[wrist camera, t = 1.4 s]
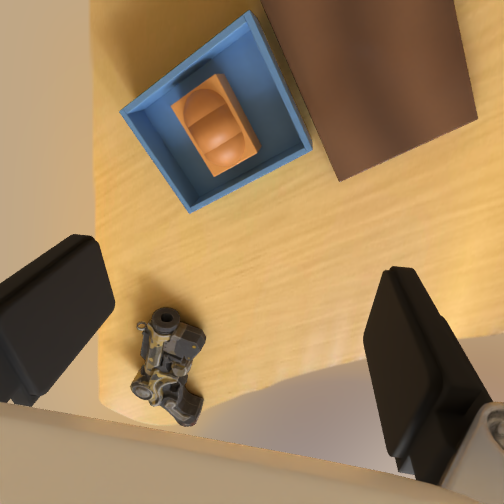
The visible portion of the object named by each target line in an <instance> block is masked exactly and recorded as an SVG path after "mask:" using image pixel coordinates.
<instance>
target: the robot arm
mask: <svg viewBox="0 0 504 504" xmlns="http://www.w3.org/2000/svg"><path fill="white" fill-rule="evenodd" d="M114 308H115V299H114V296H113V292H112V289H111V285H110V281H109V278H108V274H107V271H106V267H105V264H104V260H103V257H102V253H101V249H100V246H99V243H98V242H97V241H95V239H94V238H93V237H92V236H88V235H78V234H73V235H70V236H69V237H67V238H66V239H64V240H63V241H61V242H60V243H59V244H57V245H56V246H54V247H53V248H51V249H50V250H48V251H47V252H46V253H44V254H42V255H41V256H40V257H38V258H37V259H35V260H34V261H33V262H31V263H29V264H28V265H26V266H25V267H24V268H22V269H21V270H19V271H18V272H16V273H15V274H13V275H12V276H11V277H9V278H8V279H6V280H5V281H3V282H2V283H0V504H504V402H493V401H492V399H491V397H490V396H489V394H488V392H487V390H486V389H485V387H484V385H483V383H482V382H481V380H480V378H479V377H478V375H477V373H476V371H475V370H474V368H473V366H472V364H471V363H470V361H469V359H468V357H467V356H466V354H465V352H464V351H463V349H462V347H461V345H460V344H459V342H458V340H457V338H456V337H455V335H454V333H453V332H452V330H451V328H450V326H449V325H448V323H447V321H446V320H445V319H444V317H443V316H441V315H440V314H439V312H438V310H437V308H436V307H435V305H434V303H433V301H432V300H431V298H430V296H429V294H428V293H427V291H426V289H425V287H424V286H423V284H422V282H421V280H420V278H419V277H418V275H417V273H416V271H415V270H414V269H413V268H406V267H396V266H392V267H391V268H390V270H385V271H384V272H383V274H382V277H381V280H380V283H379V286H378V290H377V293H376V296H375V299H374V302H373V306H372V309H371V312H370V315H369V318H368V322H367V325H366V328H365V331H364V336H363V344H364V349H365V353H366V358H367V362H368V367H369V371H370V376H371V380H372V385H373V389H374V394H375V399H376V403H377V408H378V412H379V417H380V421H381V426H382V430H383V435H384V439H385V444H386V448H387V452H388V454H389V455H390V456H391V457H395V459H396V463H397V468H398V472H401V473H407V474H412V475H415V478H416V480H414V479H410V478H406V477H402V476H398V475H394V474H390V473H386V472H381V471H375V470H371V469H366V468H361V467H356V466H351V465H346V464H341V463H336V462H331V461H326V460H321V459H316V458H311V457H306V456H301V455H295V454H290V453H284V452H279V451H273V450H268V449H262V448H257V447H252V446H246V445H241V444H235V443H230V442H224V441H219V440H213V439H208V438H202V437H197V436H191V435H186V434H180V433H175V432H169V431H163V430H158V429H152V428H147V427H141V426H135V425H130V424H124V423H118V422H113V421H107V420H101V419H96V418H90V417H85V416H79V415H73V414H67V413H62V412H56V411H50V410H44V409H38V408H33V407H32V406H33V404H34V403H35V402H36V401H37V400H38V398H39V397H40V396H42V395H44V394H46V393H47V392H48V391H49V389H50V388H51V387H52V386H53V385H54V383H55V382H56V381H57V379H58V378H59V377H60V376H61V375H62V373H63V372H64V371H65V370H66V368H67V367H68V366H69V365H70V364H71V362H72V361H73V360H74V359H75V357H76V356H77V355H78V354H79V352H80V351H81V350H82V349H83V347H84V346H85V345H86V344H87V343H88V341H89V340H90V339H91V338H92V336H93V335H94V334H95V333H96V331H97V330H98V329H99V328H100V327H101V325H102V324H103V323H104V322H105V320H106V319H107V318H108V317H109V315H110V314H111V313H112V312H113V310H114ZM10 399H12V401H13V402H14V404H8V403H7V402H8V401H9V400H10ZM15 404H18V405H15ZM21 405H24V406H21ZM27 406H29V407H27Z"/></svg>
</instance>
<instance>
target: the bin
mask: <svg viewBox="0 0 504 504" xmlns="http://www.w3.org/2000/svg"><path fill="white" fill-rule="evenodd" d="M214 74H225V76H226V78H227V80H228V82H229V84H230V86H231V88H232V90H233V92H234V94H235V96H236V97H237V99H238V101H239V103H240V105H241V107H242V109H243V111H244V113H245V115H246V117H247V119H248V120H249V122H250V124H251V126H252V128H253V130H254V132H255V134H256V136H257V138H258V140H259V142H260V144H261V145H262V147H261V148H260V150H259V151H258V153H257V154H255V155H253V156H251V157H249V158H248V159H246V160H244V161H242V162H240V163H239V164H237V165H235V166H233V167H231V168H230V169H228V170H226V171H224V172H223V173H221V174H219V175H217V176H215V177H214V176H213V175H212V173H211V171H210V170H209V168H208V166H207V165H206V163H205V162H204V160H203V158H202V157H201V155H200V153H199V152H198V150H197V149H196V147H195V145H194V144H193V142H192V140H191V139H190V137H189V136H188V134H187V132H186V131H185V129H184V127H183V126H182V124H181V123H180V121H179V119H178V118H177V116H176V114H175V113H174V111H173V110H172V108H171V105H173V104H174V103H175V102H177V101H178V100H179V99H181V98H182V97H184V96H185V95H186V94H188V93H189V92H190V91H192V90H193V89H195V88H196V87H197V86H199V85H200V84H202V83H203V82H204V81H206V80H207V79H208V78H210V77H211V76H213V75H214ZM119 113H120V114H121V115H122V117H123V118H124V120H125V121H126V123H127V124H128V126H129V127H130V128H131V130H132V131H133V133H134V134H135V136H136V137H137V139H138V140H139V142H140V143H141V144H142V146H143V147H144V149H145V150H146V152H147V153H148V155H149V156H150V158H151V159H152V160H153V162H154V163H155V165H156V166H157V168H158V169H159V171H160V172H161V174H162V175H163V176H164V178H165V179H166V181H167V182H168V184H169V185H170V187H171V188H172V190H173V191H174V192H175V194H176V195H177V197H178V198H179V200H180V201H181V203H182V204H183V205H184V207H185V208H186V210H187V211H188V213H189V214H190V213H192V212H194V211H196V210H198V209H200V208H202V207H204V206H206V205H208V204H210V203H212V202H213V201H215V200H217V199H219V198H221V197H223V196H225V195H227V194H229V193H231V192H233V191H235V190H237V189H239V188H240V187H242V186H244V185H246V184H248V183H250V182H252V181H254V180H256V179H258V178H260V177H262V176H264V175H266V174H267V173H269V172H271V171H273V170H275V169H277V168H279V167H281V166H283V165H285V164H287V163H289V162H291V161H293V160H294V159H296V158H298V157H300V156H302V155H304V154H306V153H308V152H310V151H312V150H313V146H312V139H311V137H310V135H309V133H308V130H307V128H306V126H305V124H304V122H303V119H302V117H301V115H300V113H299V110H298V108H297V106H296V104H295V101H294V99H293V97H292V95H291V92H290V90H289V88H288V86H287V84H286V81H285V79H284V77H283V75H282V72H281V70H280V68H279V66H278V63H277V61H276V59H275V57H274V54H273V52H272V50H271V48H270V45H269V43H268V41H267V39H266V37H265V34H264V32H263V30H262V28H261V25H260V23H259V21H258V19H257V17H256V16H255V15H254V14H253V13H252V12H251V11H250V10H248V11H247V12H245V13H244V14H243V15H242V16H240V17H239V18H238V19H236V20H235V21H234V22H233V23H231V24H230V25H229V26H227V27H226V28H225V29H224V30H222V31H221V32H220V33H219V34H217V35H216V36H215V37H213V38H212V39H211V40H210V41H208V42H207V43H206V44H204V45H203V46H202V47H201V48H199V49H198V50H197V51H196V52H194V53H193V54H192V55H190V56H189V57H188V58H187V59H185V60H184V61H183V62H181V63H180V64H179V65H178V66H176V67H175V68H174V69H173V70H171V71H170V72H169V73H167V74H166V75H165V76H164V77H162V78H161V79H160V80H159V81H157V82H156V83H155V84H153V85H152V86H151V87H150V88H148V89H147V90H146V91H144V92H143V93H142V94H141V95H139V96H138V97H137V98H136V99H134V100H133V101H132V102H130V103H129V104H128V105H127V106H125V107H124V108H123V109H121V110H120V111H119Z"/></svg>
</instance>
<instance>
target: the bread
mask: <svg viewBox="0 0 504 504" xmlns="http://www.w3.org/2000/svg"><path fill="white" fill-rule="evenodd" d="M171 108H172V110H173V111H174V113H175V114H176V116H177V118H178V119H179V121H180V123H181V124H182V126H183V127H184V129H185V131H186V132H187V134H188V136H189V137H190V139H191V140H192V142H193V144H194V145H195V147H196V149H197V150H198V152H199V153H200V155H201V157H202V158H203V160H204V162H205V163H206V165H207V166H208V168H209V170H210V171H211V173H212V175H213V176H214V177H215V176H217V175H219V174H221V173H223V172H224V171H226V170H228V169H230V168H231V167H233V166H235V165H237V164H239V163H240V162H242V161H244V160H246V159H248V158H249V157H251V156H253V155H255V154H257V153H258V151H259V150H260V148H261V147H262V145H261V144H260V142H259V140H258V138H257V136H256V134H255V132H254V130H253V128H252V126H251V124H250V122H249V120H248V119H247V117H246V115H245V113H244V111H243V109H242V107H241V105H240V103H239V101H238V99H237V97H236V96H235V94H234V92H233V90H232V88H231V86H230V84H229V82H228V80H227V78H226V76H225V74H214V75H213V76H211V77H210V78H208V79H207V80H206V81H204V82H203V83H202V84H200V85H199V86H197V87H196V88H195V89H193V90H192V91H190V92H189V93H188V94H186V95H185V96H184V97H182V98H181V99H179V100H178V101H177V102H175V103H174V104H173V105H171Z"/></svg>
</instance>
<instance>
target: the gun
mask: <svg viewBox="0 0 504 504" xmlns="http://www.w3.org/2000/svg"><path fill="white" fill-rule="evenodd" d="M139 324H145V327H144V328H139V327H138V325H139ZM136 328H137V329H138V330H140V331H143V333H142V334H143V342H142V348H141V354H140V355H141V356H142V357H143V358H144V359H145V361H146V362H145V365H143V366H142V367H141V370H139V372H138V373H137V375H136V377H135V378H134V380H133V382H132V383H131V386H130V387H131V390H132V392H133V393H134V394H135V395H136V396H137V397H139V398H141V399H143V400H149V403H150V405H151V406H153V407H154V406H159V405H160V406H161V407H163V408H164V409H165V410H167V411H168V412H169V413H170V414H171V415H172V416H173V417H174V418H175V420H176V421H177V422H178V423H179V424H180V425H181V426H184V427H186V426H193V425H195V424H196V422H197V420H198V418H199V415H200V413H201V410H202V406H203V401H204V399H203V398H200V397H197V396H194V395H192V394H191V393H189V392H188V391H187V389H186V388H185V384H186V382H187V378H188V375H187V373H188V372H189V370H190V368H191V365H192V361H193V358H194V357H195V356H196V355H197V354H198V353H199V352H200V351H201V349H202V347H203V346H204V344H205V341H206V336H205V334H204V332H203V330H202V329H199V328H196V327H193V326H190V325H187V324H185V323H182V322H180V315H179V313H178V312H177V311H176V310H174V309H172V308H160V309H158V310H156V311H155V312H154V314H153V316H152V320H150V321H149V322H148V325H147V324H146V322H143V321H141V322H138V323H137V327H136Z"/></svg>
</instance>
